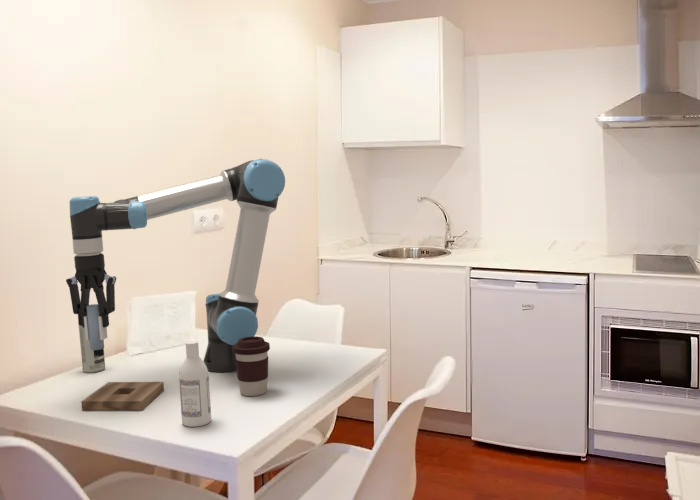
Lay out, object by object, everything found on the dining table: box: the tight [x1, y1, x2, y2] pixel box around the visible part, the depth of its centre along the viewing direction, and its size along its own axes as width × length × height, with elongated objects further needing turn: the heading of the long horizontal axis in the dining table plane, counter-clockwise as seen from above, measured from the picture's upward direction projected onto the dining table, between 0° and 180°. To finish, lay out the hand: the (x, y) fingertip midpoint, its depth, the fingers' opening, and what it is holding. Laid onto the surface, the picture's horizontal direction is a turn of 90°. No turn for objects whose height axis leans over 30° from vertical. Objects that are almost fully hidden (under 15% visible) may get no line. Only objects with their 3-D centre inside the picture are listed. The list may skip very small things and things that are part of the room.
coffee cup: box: [233, 335, 271, 397], centre depth 185 cm, size 10×10×15 cm
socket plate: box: [80, 381, 165, 412], centre depth 183 cm, size 16×16×2 cm
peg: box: [86, 303, 105, 350], centre depth 185 cm, size 4×4×12 cm
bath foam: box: [178, 340, 212, 428], centre depth 164 cm, size 7×7×20 cm
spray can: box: [77, 314, 106, 374], centre depth 211 cm, size 7×7×20 cm
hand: (96, 338), depth 185 cm, fingers closed on peg, 3 cm apart
